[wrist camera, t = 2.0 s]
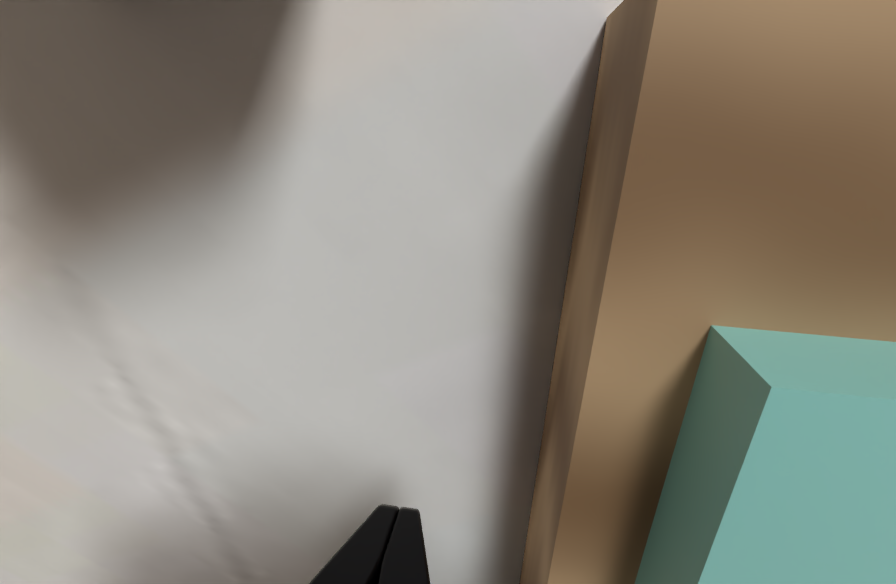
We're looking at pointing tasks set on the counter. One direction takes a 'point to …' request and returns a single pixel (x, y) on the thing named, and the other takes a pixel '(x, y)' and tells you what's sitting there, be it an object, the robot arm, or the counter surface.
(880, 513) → the teal rectangular block
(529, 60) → the counter surface
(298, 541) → the counter surface
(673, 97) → the deck
